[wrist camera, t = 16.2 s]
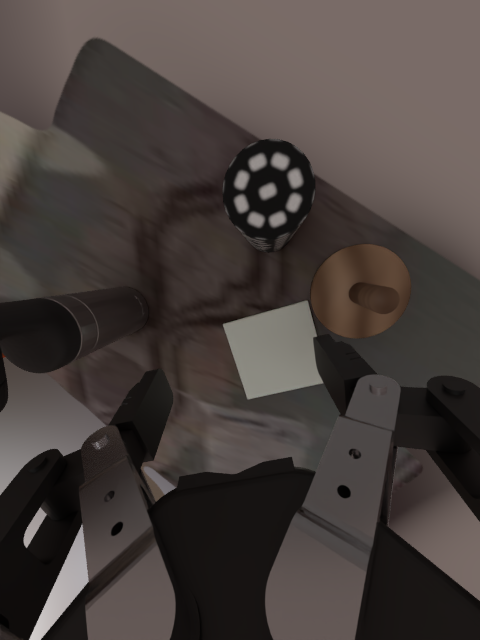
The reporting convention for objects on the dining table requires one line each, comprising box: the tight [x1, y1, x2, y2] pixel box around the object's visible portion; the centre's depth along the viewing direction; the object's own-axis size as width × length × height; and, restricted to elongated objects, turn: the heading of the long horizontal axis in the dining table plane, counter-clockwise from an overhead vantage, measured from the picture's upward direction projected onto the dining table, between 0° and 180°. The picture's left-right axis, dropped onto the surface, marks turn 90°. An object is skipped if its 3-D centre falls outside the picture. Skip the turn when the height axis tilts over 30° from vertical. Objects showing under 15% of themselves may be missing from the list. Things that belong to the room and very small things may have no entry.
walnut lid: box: [310, 244, 411, 338], centre depth 32 cm, size 14×14×9 cm
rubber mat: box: [223, 300, 323, 399], centre depth 45 cm, size 16×16×1 cm
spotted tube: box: [223, 139, 315, 252], centre depth 31 cm, size 8×8×20 cm
